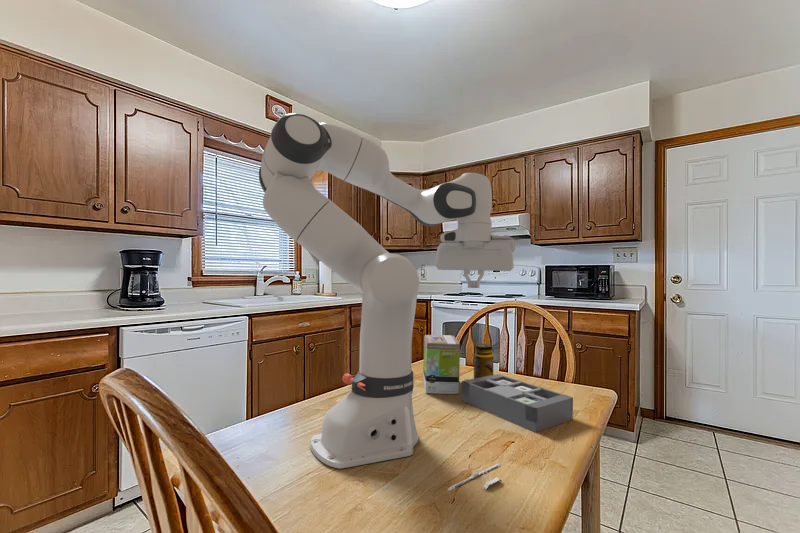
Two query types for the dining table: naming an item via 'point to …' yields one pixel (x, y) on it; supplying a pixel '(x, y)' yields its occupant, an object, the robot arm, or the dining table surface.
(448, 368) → the tea box
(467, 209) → the robot arm
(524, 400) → the key sage
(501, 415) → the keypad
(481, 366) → the condiment
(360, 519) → the dining table surface
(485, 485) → the picture light
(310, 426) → the dining table surface
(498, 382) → the key grey
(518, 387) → the key cream
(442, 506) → the dining table surface
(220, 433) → the dining table surface
